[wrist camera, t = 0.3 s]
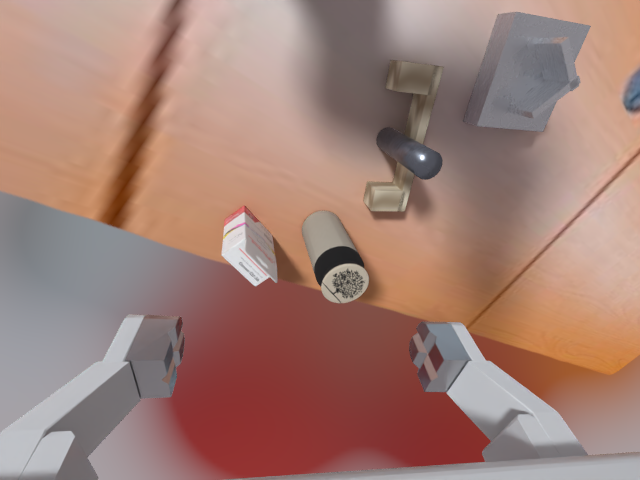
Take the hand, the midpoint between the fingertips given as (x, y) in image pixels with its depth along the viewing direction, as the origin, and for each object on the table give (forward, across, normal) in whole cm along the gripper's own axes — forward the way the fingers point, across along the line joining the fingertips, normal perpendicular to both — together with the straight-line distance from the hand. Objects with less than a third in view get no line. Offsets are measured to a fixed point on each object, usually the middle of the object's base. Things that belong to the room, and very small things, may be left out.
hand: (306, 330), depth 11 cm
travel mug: (+45, -10, +24) cm, 52 cm away
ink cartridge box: (+44, +4, +24) cm, 51 cm away
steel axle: (+47, -19, +6) cm, 51 cm away
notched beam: (+47, -20, +6) cm, 52 cm away
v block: (+50, -38, -7) cm, 63 cm away
